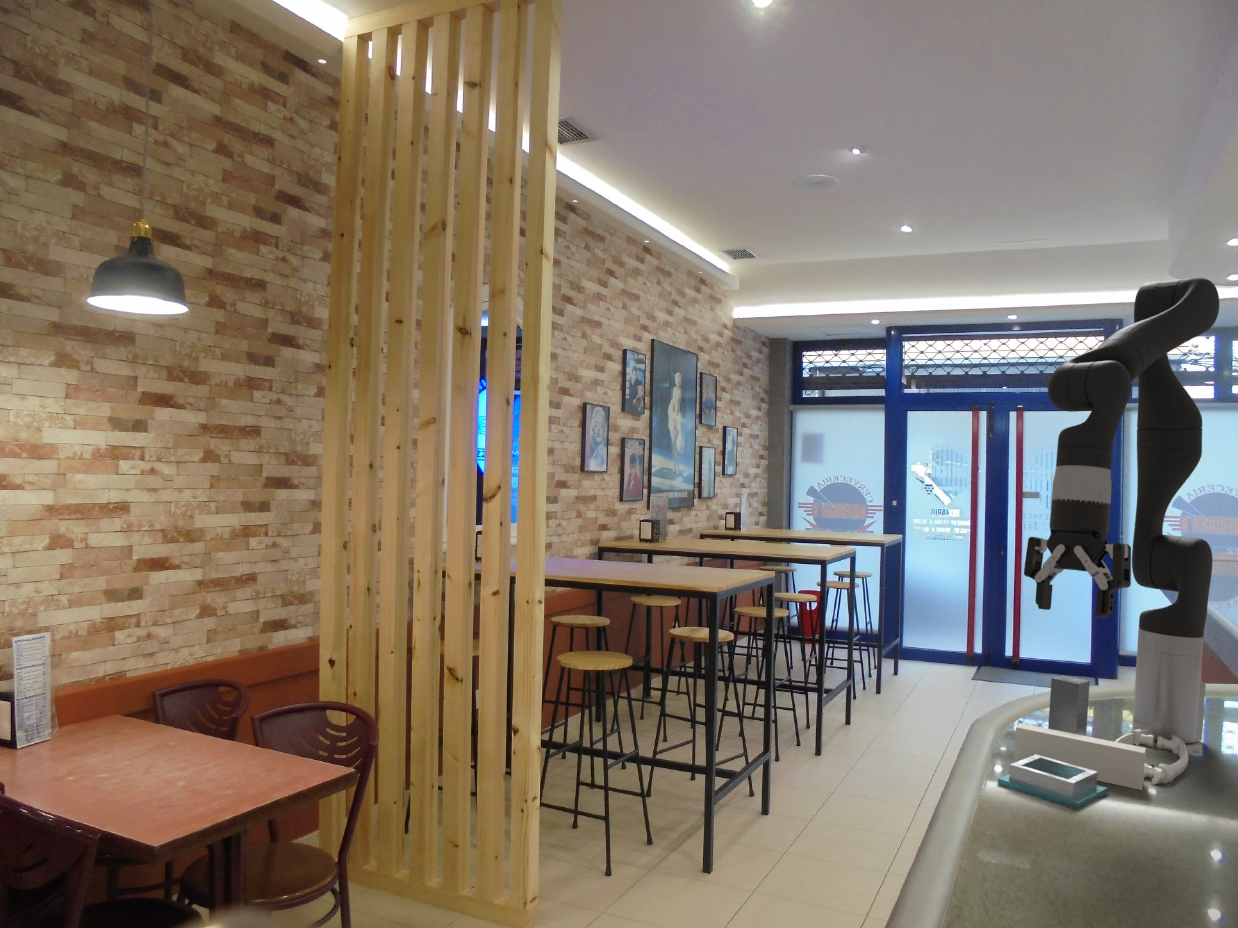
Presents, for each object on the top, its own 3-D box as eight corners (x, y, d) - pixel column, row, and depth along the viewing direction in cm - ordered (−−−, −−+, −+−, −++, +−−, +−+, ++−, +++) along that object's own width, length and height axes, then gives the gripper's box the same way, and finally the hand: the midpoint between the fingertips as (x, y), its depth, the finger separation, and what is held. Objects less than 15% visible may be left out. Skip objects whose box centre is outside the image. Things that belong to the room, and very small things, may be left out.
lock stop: (1057, 746, 138) (1062, 675, 138) (1084, 753, 135) (1089, 680, 135) (1046, 750, 135) (1051, 677, 135) (1074, 757, 132) (1079, 683, 132)
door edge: (1013, 761, 128) (1016, 727, 128) (1017, 756, 131) (1019, 722, 131) (1142, 790, 120) (1144, 752, 120) (1143, 784, 122) (1145, 747, 122)
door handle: (1195, 754, 140) (1177, 793, 121) (1124, 739, 147) (1095, 773, 127) (1196, 737, 140) (1178, 773, 121) (1125, 722, 147) (1097, 754, 127)
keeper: (1030, 770, 125) (1031, 750, 125) (1107, 793, 117) (1108, 772, 117) (997, 784, 118) (999, 763, 118) (1076, 809, 111) (1078, 787, 111)
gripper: (1145, 504, 124) (1137, 621, 123) (1048, 500, 136) (1040, 607, 135) (1117, 498, 120) (1108, 619, 119) (1019, 495, 132) (1010, 605, 131)
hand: (1072, 613), depth 127 cm, fingers open, 8 cm apart
